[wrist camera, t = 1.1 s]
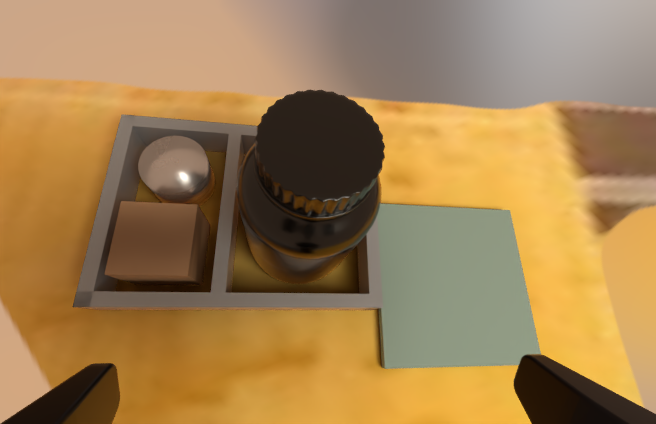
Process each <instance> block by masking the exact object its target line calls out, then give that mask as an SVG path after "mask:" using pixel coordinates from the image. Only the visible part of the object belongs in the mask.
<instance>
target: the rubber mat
mask: <svg viewBox="0 0 656 424" xmlns="http://www.w3.org/2000/svg"><path fill="white" fill-rule="evenodd" d="M377 220H378V235H379V251H380V266H381V282H382V298H383V308H379V326H380V343H381V360H382V368H385V369H390V368H427V367H464V366H501V365H519V363H520V360H521V358H522V357H523V356H524V355H526V354H541V353H540V348H539V344H538V339H537V334H536V330H535V325H534V320H533V316H532V311H531V306H530V302H529V297H528V293H527V288H526V283H525V279H524V274H523V269H522V265H521V260H520V255H519V251H518V246H517V242H516V237H515V232H514V228H513V223H512V218H511V214H510V210H494V209H475V208H456V207H437V206H418V205H399V204H380V208H379V212H378V215H377Z"/></svg>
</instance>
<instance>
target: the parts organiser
mask: <svg viewBox="0 0 656 424" xmlns="http://www.w3.org/2000/svg"><path fill="white" fill-rule="evenodd" d="M256 135H257V126H251V125H240V124H228V123H216V122H204V121H193V120H181V119H169V118H157V117H145V116H134V115H121V119H120V123H119V127H118V131H117V135H116V139H115V143H114V146H113V150H112V154H111V158H110V162H109V166H108V170H107V174H106V178H105V182H104V186H103V190H102V194H101V198H100V201H99V205H98V209H97V213H96V217H95V221H94V225H93V229H92V233H91V237H90V241H89V245H88V249H87V252H86V256H85V260H84V264H83V268H82V272H81V276H80V280H79V284H78V288H77V292H76V296H75V300H74V303H73V307H77V308H86V309H95V310H374V309H379V308H383V298H382V282H381V266H380V251H379V235H378V220H377V217H376V220H375V222H374V223H373V225H372V227H371V228H370V230H369V231H368V233H367V234H366V235H365V236H364V238H363V239H362V240H361V241H360V242H359V243H358V244H357V253H358V278H359V294H333V293H231V289H232V279H233V268H234V257H235V247H236V236H237V225H238V214H239V206H238V201H237V192H236V182H237V175H238V171H239V168H240V165H241V163H242V161H243V159H244V154H247V152H248V151H249V149H250V148H251V147H252V146H253V145H254V144H255V137H256ZM167 136H183V137H187V138H190V139H192V140H194V141H195V142H197V143H198V144H199V145H200V146H201V147H202V148H203V149H204V151H215V152H227V154H226V163H225V171H224V180H223V189H222V197H221V206H220V215H219V223H218V232H217V241H216V250H215V258H214V267H213V276H212V284H211V292H116V287H117V283H118V279H117V278H114V277H111V276H108V275H105V269H106V265H107V261H108V256H109V252H110V247H111V243H112V239H113V234H114V230H115V226H116V221H117V217H118V213H119V208H120V204H121V201H132V202H135V199H136V194H137V189H138V185H139V180H140V174H139V170H138V163H139V159H140V156H141V154H142V152H143V151H144V150H145V148H146V147H147V146H148V145H150V144H151V143H152V142H154V141H156V140H158V139H160V138H163V137H167Z"/></svg>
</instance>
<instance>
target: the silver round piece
mask: <svg viewBox="0 0 656 424" xmlns="http://www.w3.org/2000/svg"><path fill="white" fill-rule="evenodd" d="M138 170H139V174H140V177H141V179H142V180H143V182H144V183H145V184H146V185H147V186H148V187H149V189H150V190H151V191H152V192H153V193H154V194H155V195H156V197H157V198H158V199H159V200H160V201H161V202H162V203H174V204H194V205H198V206H201V205H202V204H204V203H205V202H206V201H207V200H208V199H209V198H210V197H211V195H212V194H213V191H214V189H215V177H214V174H213V171H212V169H211V166H210V163H209V161H208V158H207V156H206V153H205V151H204V149H203V148H202V147H201V146H200V145H199V144H198V143H197V142H195V141H194V140H192V139H190V138H187V137H183V136H167V137H163V138H160V139H158V140H156V141H154V142H152V143H151V144H150V145H148V146H147V147H146V148H145V150H144V151H143V152H142V154H141V156H140V159H139V163H138Z"/></svg>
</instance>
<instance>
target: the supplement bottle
mask: <svg viewBox="0 0 656 424" xmlns="http://www.w3.org/2000/svg"><path fill="white" fill-rule="evenodd" d="M382 139H383V135H382V134H381V132H380V131H379V126H378V125H377V124H376V123H375V122H374V120H373V117H372V116H371V115H370V114H368V113H367V112H366V110H365V109H364V108H363V107H361V106H359V105H358V104H357V103H356V102H355V101H353V100H350V99H348V98H347V97H345V96H344V95H338V94H336V93H334V92H326V91H323V90H317V91H313V90H307V91H304V92H303V91H297V92H296V93H294V94H290V95H286V96H285V97H284V98H283V99H280V100H277V101H276V102H275V104H274V105H273V106H271V107H269V108H268V110H267V113H266V114H264V115H263V116H262V118H261V123H260V124H259V125H258V126H257V135H256V137H255V144H254V145H253V146H252V147H251V148H250V149H249V151H248V152H247V154H246V155H245V157H244V159H243V161H242V163H241V165H240V168H239V171H238V175H237V182H236V192H237V201H238V206H239V210H240V214H241V218H242V221H243V225H244V229H245V233H246V236H247V240H248V244H249V247H250V250H251V253H252V255H253V257H254V259H255V260H256V262H257V263H258V265H259V266H260V267H261V268H262V269H263V270H264V271H265V272H266V273H267V274H269V275H270V276H272V277H273V278H275V279H277V280H280V281H282V282H286V283H291V284H306V283H311V282H315V281H317V280H320V279H322V278H324V277H325V276H327V275H328V274H330V273H331V272H332V271H333V270H334V269H335V268H336V267H337V266H338V265H339V264H340V263H341V262H342V261H343V260H344V259H345V258H346V257H347V255H348V254H349V253H350V252H351V251H352V250H353V249H354V248H355V247H356V246H357V244H358V243H359V242H360V241H361V240H362V239H363V238H364V236H365V235H366V234H367V233H368V231H369V230H370V228H371V227H372V225H373V223H374V222H375V220H376V217H377V215H378V212H379V208H380V203H381V183H380V178H379V173H380V172H381V170H382V162H383V161H384V158H385V156H384V152H383V151H384V148H385V145H384V143H383V141H382Z"/></svg>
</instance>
